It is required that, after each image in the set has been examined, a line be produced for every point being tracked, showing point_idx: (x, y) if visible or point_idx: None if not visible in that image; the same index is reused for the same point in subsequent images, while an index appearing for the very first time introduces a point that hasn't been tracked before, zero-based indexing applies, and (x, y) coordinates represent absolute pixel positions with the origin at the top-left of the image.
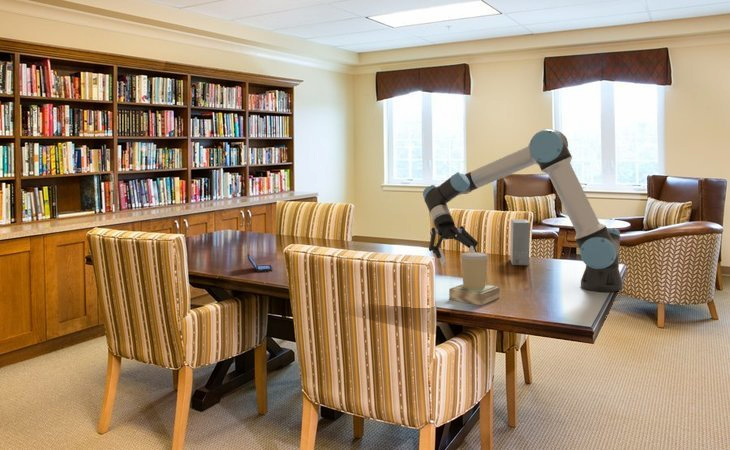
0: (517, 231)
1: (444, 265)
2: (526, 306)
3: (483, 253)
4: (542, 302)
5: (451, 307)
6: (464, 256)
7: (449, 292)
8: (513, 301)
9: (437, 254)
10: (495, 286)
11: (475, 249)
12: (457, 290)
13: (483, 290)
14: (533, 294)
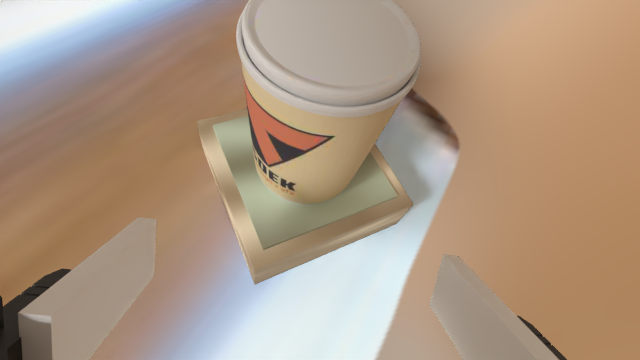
0: None
1: (433, 293)
2: (213, 45)
3: (250, 17)
4: (128, 46)
5: (430, 143)
6: (416, 39)
7: (406, 211)
8: (199, 95)
9: (538, 334)
10: (214, 124)
11: (21, 300)
12: (390, 169)
13: None
14: (37, 120)
